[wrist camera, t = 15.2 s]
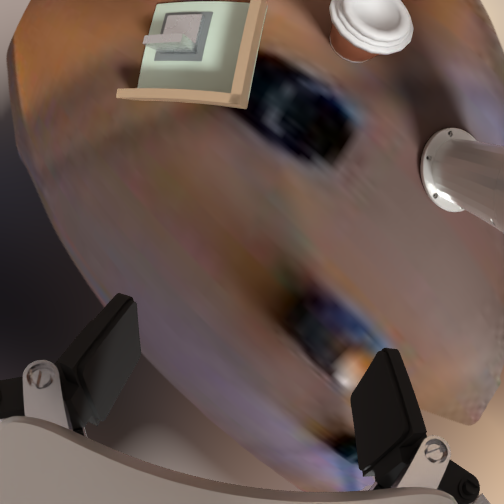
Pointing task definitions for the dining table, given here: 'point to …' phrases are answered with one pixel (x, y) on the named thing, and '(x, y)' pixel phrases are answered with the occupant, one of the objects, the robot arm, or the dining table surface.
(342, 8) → the coffee cup
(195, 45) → the bracket
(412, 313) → the dining table surface
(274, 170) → the dining table surface
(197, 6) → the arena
